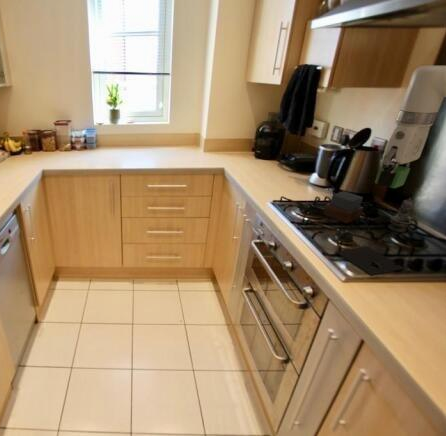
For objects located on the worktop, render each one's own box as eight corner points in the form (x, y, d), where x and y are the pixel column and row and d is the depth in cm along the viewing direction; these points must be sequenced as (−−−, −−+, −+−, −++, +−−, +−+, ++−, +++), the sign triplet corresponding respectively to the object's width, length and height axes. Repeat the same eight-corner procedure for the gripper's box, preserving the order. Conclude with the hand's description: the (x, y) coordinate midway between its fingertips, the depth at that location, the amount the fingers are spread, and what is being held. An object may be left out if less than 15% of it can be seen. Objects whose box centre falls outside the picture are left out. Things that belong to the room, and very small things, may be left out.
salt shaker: (389, 222, 116) (402, 192, 111) (409, 228, 112) (424, 197, 107) (384, 227, 113) (397, 197, 108) (404, 234, 109) (419, 202, 103)
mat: (366, 247, 103) (367, 246, 102) (404, 269, 92) (404, 268, 92) (336, 253, 100) (336, 252, 100) (370, 276, 90) (371, 274, 90)
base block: (336, 208, 127) (339, 198, 125) (360, 217, 120) (364, 207, 118) (322, 214, 123) (325, 203, 121) (346, 223, 116) (350, 213, 114)
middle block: (340, 200, 124) (343, 190, 122) (359, 206, 118) (363, 197, 117) (329, 204, 121) (332, 194, 119) (348, 211, 116) (352, 201, 114)
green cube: (383, 179, 94) (390, 163, 91) (403, 185, 90) (410, 168, 87) (374, 183, 92) (380, 166, 89) (394, 188, 88) (401, 171, 85)
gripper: (415, 124, 76) (387, 194, 84) (449, 116, 82) (420, 181, 91) (380, 119, 82) (358, 185, 90) (414, 112, 88) (390, 174, 97)
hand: (389, 182), depth 90 cm, fingers closed on green cube, 5 cm apart
